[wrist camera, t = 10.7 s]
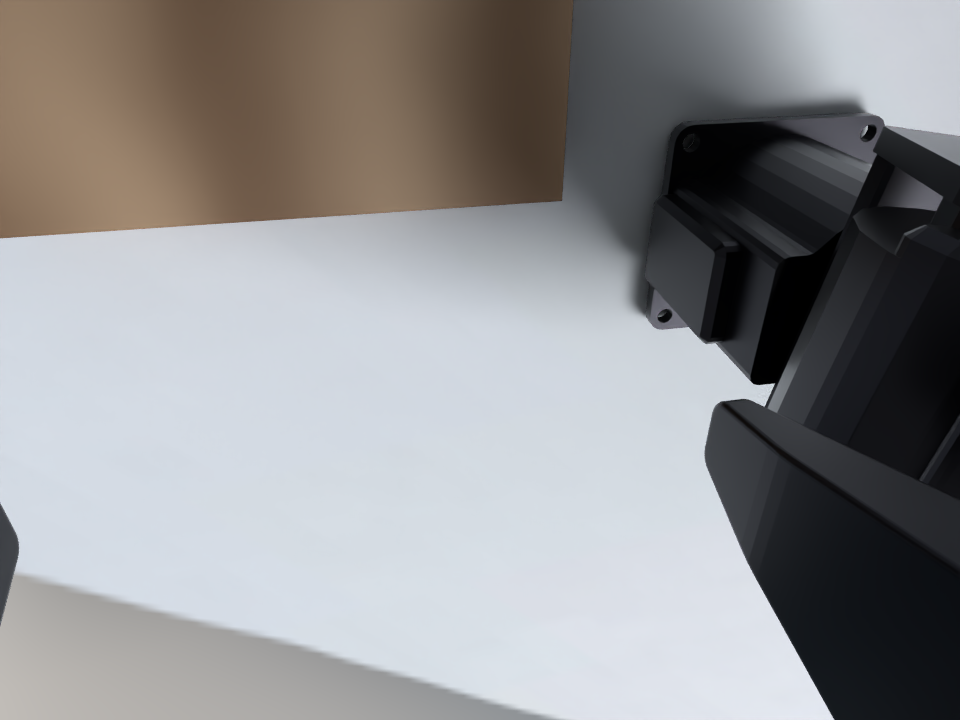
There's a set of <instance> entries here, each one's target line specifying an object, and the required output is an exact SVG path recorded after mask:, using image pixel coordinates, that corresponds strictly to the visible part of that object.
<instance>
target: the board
mask: <svg viewBox="0 0 960 720" xmlns="http://www.w3.org/2000/svg"><path fill="white" fill-rule="evenodd" d="M572 16H573V0H0V238H11V237H26V236H41V235H56V234H71V233H86V232H101V231H116V230H131V229H146V228H161V227H176V226H191V225H206V224H221V223H236V222H251V221H266V220H281V219H296V218H311V217H326V216H341V215H356V214H371V213H386V212H401V211H416V210H431V209H446V208H461V207H476V206H491V205H506V204H521V203H536V202H551V201H562V192H563V174H564V157H565V139H566V121H567V104H568V86H569V69H570V51H571V34H572Z"/></svg>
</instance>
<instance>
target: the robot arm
mask: <svg viewBox="0 0 960 720" xmlns="http://www.w3.org/2000/svg"><path fill="white" fill-rule="evenodd" d="M867 125H868V130H867V132H866V134H865V135H864V136H863V137H862V138H860V134H861V132H862V130H863V129H864V128H865V127H866V126H867ZM690 134H694V140H693V143H692V144H691V145H690V146H689V147H688V148H685V149H683V142H684V139H685V138H686V137H687V136H688V135H690ZM645 278H646V280H647V281H648V282H649V291H648V298H647V306H646V317H647V319H648V321H649V322H650V323H651V324H652V326H653V327H655V328H657V329H673V328H683V327H689V328H690V329H691V330H692V331H693V332H694V333H695V334H696V335H697V337H698V338H699V339H700V340H701V341H702V342H703V343H705V344H711V343H716V344H717V345H718V346H719V347H720V348H721V350H722V351H723V352H724V353H725V354H726V355H727V356H728V357H729V358H730V359H731V360H732V361H733V363H734V364H735V365H736V366H737V367H738V368H739V369H740V370H741V371H742V372H743V373H744V374H745V376H746V377H747V378H748V379H749V380H750V381H751V382H752V383H753V384H756V385H763V384H772V383H775V385H774V387H773V390H772V392H771V394H770V396H769V399H768V401H767V403H766V405H765V407H763V406H761V405H759V404H757V403H755V402H753V401H751V400H747V399H739V400H731V401H722V402H720V403H718V404H717V405H716V406H715V408H714V410H713V413H712V417H711V422H710V427H709V432H708V436H707V441H706V446H705V462H706V466H707V468H708V471H709V473H710V476H711V478H712V480H713V483H714V485H715V488H716V490H717V492H718V495H719V497H720V499H721V502H722V504H723V507H724V509H725V511H726V514H727V516H728V518H729V521H730V523H731V526H732V528H733V530H734V533H735V535H736V538H737V540H738V542H739V545H740V547H741V549H742V551H743V554H744V556H745V558H746V560H747V562H748V564H749V566H750V568H751V570H752V572H753V574H754V576H755V578H756V580H757V581H758V583H759V585H760V587H761V589H762V590H763V592H764V594H765V596H766V598H767V599H768V601H769V603H770V605H771V607H772V608H773V610H774V612H775V614H776V616H777V617H778V619H779V621H780V623H781V625H782V626H783V628H784V630H785V632H786V634H787V635H788V637H789V639H790V641H791V643H792V644H793V646H794V648H795V650H796V652H797V653H798V655H799V657H800V659H801V661H802V662H803V664H804V666H805V668H806V670H807V671H808V673H809V675H810V677H811V679H812V680H813V682H814V684H815V686H816V688H817V689H818V691H819V693H820V695H821V697H822V698H823V700H824V702H825V704H826V706H827V707H828V709H829V711H830V713H831V715H832V716H833V718H834V720H960V136H955V135H948V134H941V133H934V132H927V131H920V130H913V129H906V128H900V127H893V126H885V125H884V121H883V120H882V119H881V118H880V117H879V116H876V115H873V114H870V113H845V114H825V115H806V116H786V117H767V118H747V119H728V120H708V121H688V122H684V123H681V124H680V125H678V126H677V127H676V128H675V129H674V130H673V132H672V133H671V136H670V139H669V144H668V151H667V158H666V166H665V173H664V180H663V188H662V195H661V196H660V197H659V198H658V199H657V200H656V202H655V203H654V208H653V216H652V224H651V231H650V239H649V246H648V254H647V262H646V269H645ZM664 309H668V310H667V312H666V314H665V315H664V316H661V317H657V316H658V314H659V312H661V311H662V310H664ZM18 554H19V542H18V538H17V535H16V532H15V531H14V529H13V527H12V525H11V523H10V521H9V519H8V517H7V515H6V513H5V511H4V509H3V507H2V505H1V504H0V625H1V621H2V617H3V613H4V609H5V606H6V602H7V598H8V594H9V590H10V586H11V582H12V579H13V575H14V571H15V567H16V563H17V559H18Z"/></svg>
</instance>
